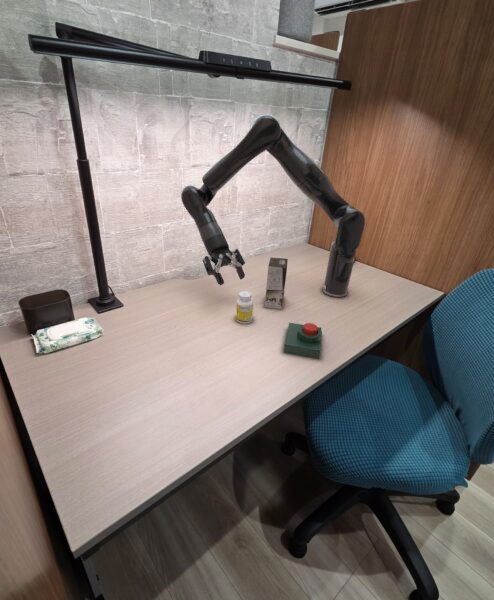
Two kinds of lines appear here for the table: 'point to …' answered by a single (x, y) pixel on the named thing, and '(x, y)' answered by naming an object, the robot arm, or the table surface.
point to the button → (310, 329)
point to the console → (302, 342)
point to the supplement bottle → (244, 307)
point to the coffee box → (276, 282)
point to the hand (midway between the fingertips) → (232, 281)
